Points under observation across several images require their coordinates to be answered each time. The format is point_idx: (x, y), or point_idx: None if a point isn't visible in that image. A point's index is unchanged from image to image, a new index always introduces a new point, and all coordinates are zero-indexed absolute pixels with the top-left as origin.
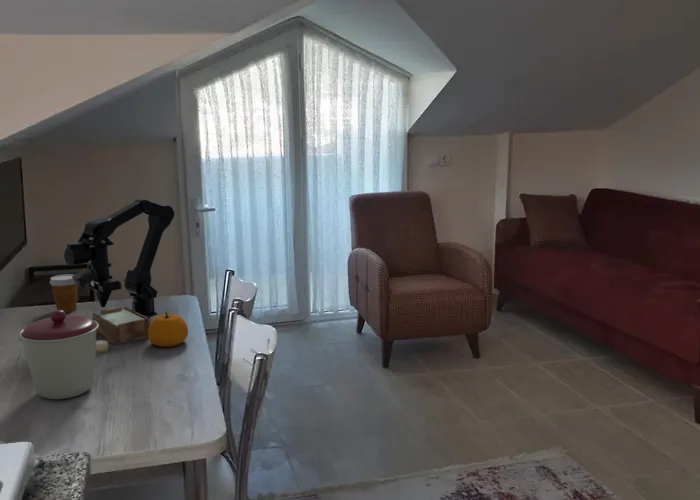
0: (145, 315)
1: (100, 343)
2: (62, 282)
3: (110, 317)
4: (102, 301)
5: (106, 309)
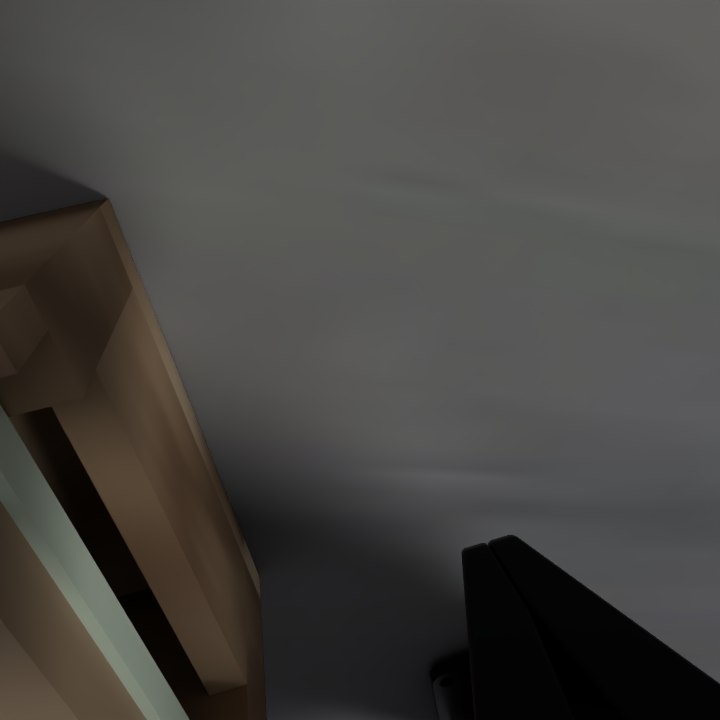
0: (438, 709)
1: None
2: None
3: None
4: (478, 704)
5: (41, 672)
